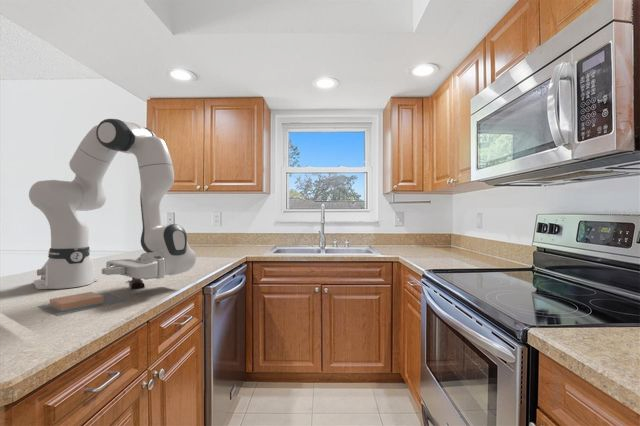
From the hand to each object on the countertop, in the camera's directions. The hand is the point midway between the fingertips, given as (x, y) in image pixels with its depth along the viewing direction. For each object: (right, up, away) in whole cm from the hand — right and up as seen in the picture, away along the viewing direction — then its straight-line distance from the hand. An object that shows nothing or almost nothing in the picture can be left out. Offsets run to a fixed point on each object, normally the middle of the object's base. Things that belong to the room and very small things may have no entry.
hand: (103, 271), depth 95 cm
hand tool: (-4, -11, +22) cm, 25 cm away
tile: (-2, -8, 0) cm, 8 cm away
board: (-3, -10, -3) cm, 11 cm away
